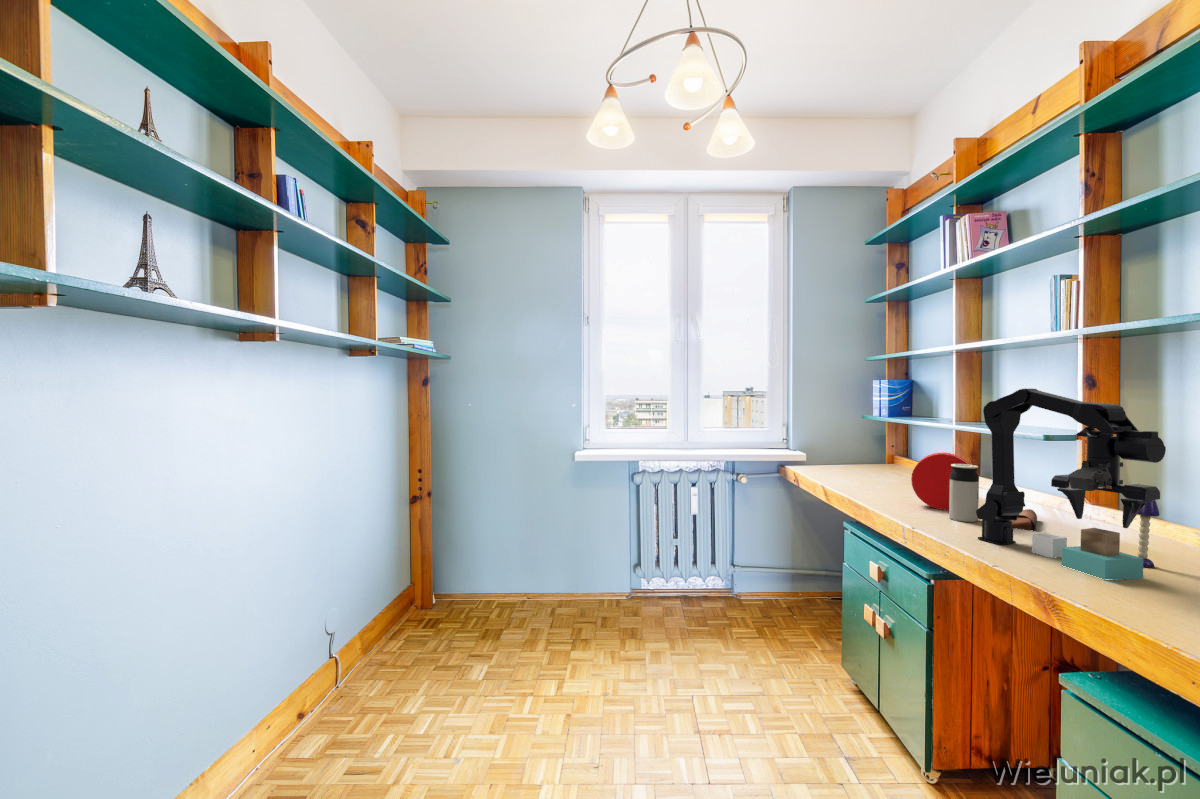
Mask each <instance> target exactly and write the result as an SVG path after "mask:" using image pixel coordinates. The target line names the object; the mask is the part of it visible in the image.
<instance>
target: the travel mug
mask: <svg viewBox="0 0 1200 799" xmlns="http://www.w3.org/2000/svg"><path fill="white" fill-rule="evenodd" d="M951 466H952V472H951V473H950V497H949V510H948V517H949V518H950V519H951V520H953V521H956V520H957V521H956V522H961V521H963V522H962V523H977V522H978V521H979V519H978V517H977V514H976V510H978V509H979V502H980V501H979V498H980V497H979V496H980V492H979V490H980V488H979V487H980V476H979V474H978V468H979V465H974V464H970V465H968V464H951Z"/></svg>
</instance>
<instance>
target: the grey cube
mask: <svg viewBox="0 0 1200 799" xmlns="http://www.w3.org/2000/svg"><path fill="white" fill-rule="evenodd" d="M1067 541H1068V538H1067V537H1065V536H1060V535H1056V534H1052V533H1048V532H1041V533H1032V536H1031V554H1035V553H1036V554H1035V555H1038V554H1040V555H1039V556H1042V555H1044V556H1043V557H1046V556H1047V557H1046V558H1049V557H1051V558H1050V559H1056V558H1055V557H1060V558H1062V547H1068V544H1067V543H1068V542H1067Z"/></svg>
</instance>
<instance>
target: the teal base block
mask: <svg viewBox="0 0 1200 799" xmlns="http://www.w3.org/2000/svg"><path fill="white" fill-rule="evenodd" d="M1062 565H1063V566H1066V567H1069V568H1072V569H1075V570H1078V571H1081V572H1084V573H1087V574H1090V575H1093V576H1096V577H1099V578H1102V579H1127V580H1143V579H1144V567H1143V558H1140V557H1138V555H1137V556H1136V555H1133V554H1130V553H1129V554H1128V553H1126V552H1122V551H1119V554H1117V555H1111V556H1102V555H1098V554H1094V553H1090V552H1086V551H1082V550H1081V545H1080V546H1077V545H1076V546H1067V547H1062V557H1061V566H1062ZM1063 566H1062V567H1063ZM1066 567H1065V568H1066ZM1069 568H1068V569H1069ZM1072 569H1071V570H1072ZM1075 570H1074V571H1075ZM1078 571H1077V572H1078ZM1081 572H1080V573H1081ZM1084 573H1083V574H1084ZM1087 574H1086V575H1087ZM1090 575H1089V576H1090ZM1093 576H1092V577H1093ZM1096 577H1095V578H1096ZM1099 578H1098V579H1099ZM1102 579H1101V580H1102Z"/></svg>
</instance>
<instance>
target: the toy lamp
mask: <svg viewBox="0 0 1200 799" xmlns="http://www.w3.org/2000/svg"><path fill="white" fill-rule="evenodd" d="M1137 515H1140V516H1139V518H1140V521H1139V525H1140V527H1139V533H1138V538H1139V539H1138V546H1137V550H1138V552H1137V557H1140V558H1143V568H1148V569H1149V568H1150V569H1152V568H1153V569H1154V568H1155V564H1154V562H1153V561H1152V560H1151V559H1150V558H1148V554H1149V553H1148V551H1149V545H1150V541H1149V539H1150V534H1149V533H1150V532H1151V529H1150V526H1151V522H1150V521H1151V517H1159V516H1160V510H1159V506H1158V504H1157V500H1152V502H1148V503H1146V504H1145V505H1144V506H1143V507H1142V508H1141V510H1140V511H1139V512H1138V513H1137Z"/></svg>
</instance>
